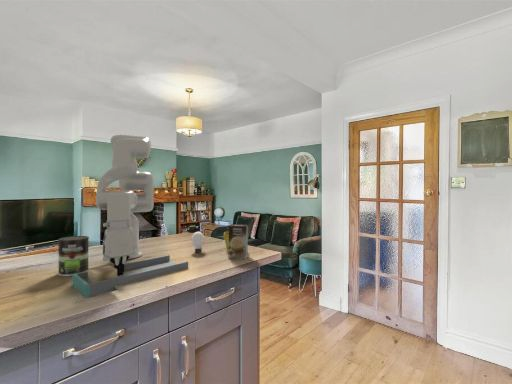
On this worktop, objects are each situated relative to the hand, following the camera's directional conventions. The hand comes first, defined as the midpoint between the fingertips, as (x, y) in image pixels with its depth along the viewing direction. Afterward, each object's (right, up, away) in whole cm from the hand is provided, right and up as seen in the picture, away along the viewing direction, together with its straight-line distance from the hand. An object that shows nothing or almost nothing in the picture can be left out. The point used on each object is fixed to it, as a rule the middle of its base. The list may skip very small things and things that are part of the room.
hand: (119, 274), depth 98 cm
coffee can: (-24, -3, +11) cm, 26 cm away
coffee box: (+41, -2, +35) cm, 55 cm away
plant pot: (+38, -2, +50) cm, 62 cm away
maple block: (-3, -1, -5) cm, 6 cm away
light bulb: (+19, -2, +45) cm, 49 cm away
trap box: (+4, -3, +4) cm, 6 cm away
